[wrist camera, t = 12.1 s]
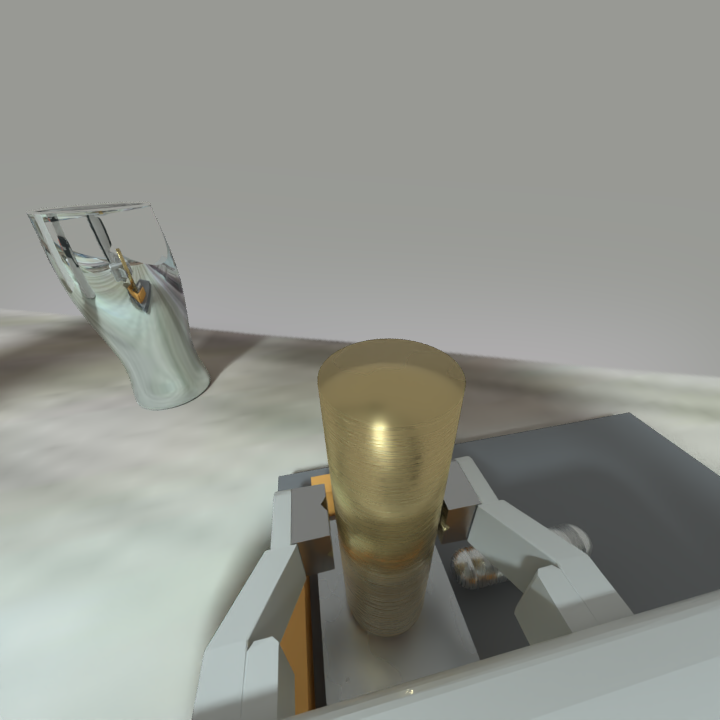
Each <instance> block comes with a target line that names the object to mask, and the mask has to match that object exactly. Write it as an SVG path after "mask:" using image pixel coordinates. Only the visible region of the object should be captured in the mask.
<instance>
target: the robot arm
mask: <svg viewBox="0 0 720 720" xmlns="http://www.w3.org/2000/svg"><path fill="white" fill-rule="evenodd" d="M330 531H331V528H330V519H329V511H328V503H327V498H326V489H325V484H318V485H313V486H307V487H301V488H295V489H288V490H283V491H278V492H275V494H274V498H273V515H272V532H271V549H270V550H266V551H265V552H264V553H263V555H262V557H261V558H260V560H259V562H258V563H257V565H256V567H255V568H254V570H253V572H252V573H251V575H250V577H249V578H248V580H247V582H246V583H245V585H244V587H243V588H242V590H241V592H240V593H239V595H238V596H237V598H236V600H235V601H234V603H233V605H232V606H231V608H230V610H229V611H228V613H227V615H226V616H225V618H224V620H223V621H222V623H221V625H220V626H219V628H218V630H217V631H216V633H215V635H214V636H213V638H212V640H211V641H210V643H209V645H208V646H207V648H206V649H205V651H204V656H203V661H202V667H201V672H200V677H199V683H198V688H197V693H196V699H195V704H194V709H193V715H192V720H720V589H719V590H716V591H712V592H709V593H705V594H702V595H699V596H695V597H692V598H689V599H685V600H682V601H678V602H675V603H672V604H668V605H665V606H662V607H658V608H655V609H651V610H648V611H645V612H641V613H638V614H635V615H634V614H633V612H632V611H631V610H630V608H629V607H628V606H627V605H626V603H625V602H624V601H623V599H622V598H621V597H620V596H619V594H618V593H617V592H616V590H615V589H614V588H613V587H612V585H611V584H610V583H609V581H608V580H607V579H606V578H605V576H604V575H603V574H602V572H601V571H600V570H599V569H598V567H597V566H596V565H595V564H594V562H593V561H592V560H591V558H590V557H589V556H588V555H587V554H586V553H584V552H583V551H581V550H580V549H578V548H577V547H575V546H574V545H572V544H570V543H569V542H567V541H566V540H564V539H563V538H561V537H560V536H558V535H557V534H555V533H554V532H552V531H551V530H549V529H548V528H546V527H544V526H543V525H541V524H540V523H538V522H537V521H535V520H534V519H532V518H531V517H529V516H528V515H526V514H525V513H523V512H522V511H520V510H518V509H517V508H515V507H514V506H512V505H511V504H509V503H508V502H506V501H505V500H498V498H497V497H496V495H495V494H494V492H493V490H492V489H491V487H490V486H489V484H488V483H487V481H486V480H485V478H484V477H483V475H482V473H481V472H480V470H479V469H478V467H477V466H476V464H475V463H474V461H473V459H472V458H470V457H469V456H465V457H460V458H455V459H451V464H450V469H449V474H448V479H447V484H446V489H445V494H444V500H443V505H442V510H441V515H440V520H439V525H438V531H437V535H438V538H439V540H440V543H441V544H446V543H451V542H456V541H462V540H467V539H468V540H467V541H468V542H469V543H470V544H471V545H472V546H473V547H474V548H475V549H476V550H477V551H479V552H480V553H481V554H482V555H483V556H484V557H485V558H486V559H487V560H488V561H489V562H490V563H491V564H493V565H494V566H495V567H496V568H497V569H498V570H499V571H500V572H501V573H502V574H503V575H504V576H505V577H506V578H508V579H509V580H510V581H511V582H512V583H513V584H514V585H515V586H516V587H517V588H518V589H519V590H520V591H522V592H523V593H524V594H523V596H522V597H521V599H520V601H519V602H518V604H517V606H516V608H515V612H514V614H515V616H516V618H517V620H518V622H519V624H520V626H521V628H522V630H523V632H524V634H525V636H526V638H527V640H528V642H529V644H530V646H527V647H523V648H520V649H516V650H513V651H510V652H506V653H503V654H499V655H496V656H493V657H489V658H486V659H483V660H479V661H476V662H472V663H469V664H466V665H462V666H459V667H456V668H452V669H449V670H445V671H442V672H439V673H435V674H432V675H429V676H425V677H422V678H418V679H415V680H412V681H408V682H405V683H402V684H398V685H395V686H391V687H388V688H385V689H381V690H378V691H375V692H371V693H368V694H364V695H361V696H358V697H354V698H351V699H348V700H344V701H341V702H337V703H334V704H331V705H327V706H324V707H321V708H317V709H314V710H310V711H307V712H304V713H300V714H297V715H295V675H294V672H293V670H292V668H291V666H290V664H289V662H288V660H287V658H286V656H285V654H284V652H283V650H282V648H281V646H280V642H281V640H282V637H283V635H284V633H285V630H286V628H287V625H288V623H289V620H290V618H291V615H292V613H293V610H294V608H295V606H296V603H297V601H298V598H299V596H300V593H301V591H302V588H303V586H304V583H305V581H306V576H310V575H314V574H318V573H322V572H325V571H329V570H333V569H335V564H334V555H333V545H332V538H331V533H330Z"/></svg>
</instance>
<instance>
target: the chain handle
mask: <svg viewBox="0 0 720 720" xmlns="http://www.w3.org/2000/svg"><path fill="white" fill-rule="evenodd" d="M465 386H466V381H465V376H464V373H463V371H462V369H461V367H460V366H459V365H458V363H457V362H456V361H455V360H454V359H452V358H451V357H450V356H449V355H447V354H446V353H444V352H442V351H440V350H438V349H436V348H434V347H431V346H429V345H426V344H423V343H419V342H415V341H410V340H403V339H374V340H367V341H362V342H358V343H355V344H352V345H349V346H346V347H344V348H342V349H340V350H338V351H337V352H335V353H334V354H332V355H331V356H330V357H329V358H328V359H327V360H326V361H325V362H324V363H323V365H322V366H321V368H320V370H319V373H318V390H319V397H320V405H321V412H322V420H323V427H324V434H325V442H326V449H327V457H328V464H329V472H330V479H331V487H332V494H333V502H334V509H335V516H336V520H332V521H330V528H331V531H330V533H331V538H332V545H333V555H334V564H335V569H333V570H329V571H325V572H322V573H318V585H319V600H320V615H321V629H322V644H323V659H324V674H325V689H326V704H327V705H331V704H334V703H337V702H341V701H344V700H348V699H351V698H354V697H358V696H361V695H364V694H368V693H371V692H375V691H378V690H381V689H385V688H388V687H391V686H395V685H398V684H402V683H405V682H408V681H412V680H415V679H418V678H422V677H425V676H429V675H432V674H435V673H439V672H442V671H445V670H449V669H452V668H456V667H459V666H462V665H466V664H469V663H472V662H476V661H479V660H480V659H479V656H478V653H477V651H476V648H475V646H474V643H473V641H472V638H471V635H470V633H469V630H468V628H467V625H466V623H465V620H464V617H463V615H462V612H461V610H460V607H459V605H458V602H457V600H456V597H455V594H454V592H453V589H452V587H451V584H450V582H449V579H448V576H447V574H446V571H445V569H444V566H443V564H442V561H441V558H440V556H439V553H438V551H437V548H436V546H435V541H436V536H437V531H438V525H439V520H440V515H441V510H442V505H443V500H444V494H445V489H446V484H447V479H448V474H449V469H450V464H451V458H452V453H453V448H454V443H455V438H456V433H457V427H458V422H459V417H460V412H461V407H462V402H463V396H464V391H465ZM548 529H549V530H551V531H552V532H554V533H555V534H557V535H558V536H560V537H561V538H563V539H564V540H566V541H567V542H569V543H570V544H572V545H574V546H575V547H577V548H578V549H580V550H581V551H583V552H584V553H586V554H587V555H588V556H589V557H590V555H591V553H592V543H591V540H590V538H589V536H588V535H587V534H586V533H585V532H584V531H583V530H582V529H581V528H579V527H578V526H576V525H573V524H560V525H556V526H552V527H548ZM450 569H451V573H452V575H453V577H454V579H455V580H456V582H457V583H458V584H460V585H461V586H462V587H464V588H467V589H471V590H472V589H478V588H482V587H486V586H490V585H493V584H497V583H501V582H505V581H509V579H508V578H506V577H505V576H504V575H503V574H502V573H501V572H500V571H499V570H498V569H497V568H496V567H495V566H494V565H493V564H491V563H490V562H489V561H488V560H487V559H486V558H485V557H484V556H483V555H482V554H481V553H480V552H479V551H477V550H476V549H475V548H474V547H473V546H467V547H463V548H460V549H458V550H456V551H455V552H454V553H453V555H452V557H451V560H450Z"/></svg>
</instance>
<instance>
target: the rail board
mask: <svg viewBox="0 0 720 720" xmlns="http://www.w3.org/2000/svg"><path fill="white" fill-rule="evenodd" d="M465 456H469V457H470V458H472V459H473V461H474V463H475V464H476V466H477V467H478V469H479V470H480V472H481V473H482V475H483V477H484V478H485V480H486V481H487V483H488V484H489V486H490V487H491V489H492V490H493V492H494V494H495V495H496V497H497V498H498V500H505V501H506V502H508V503H509V504H511V505H512V506H514V507H515V508H517V509H518V510H520V511H522V512H523V513H525V514H526V515H528V516H529V517H531V518H532V519H534V520H535V521H537V522H538V523H540V524H541V525H543V526H544V527H546V528H548V527H552V526H556V525H560V524H573V525H576V526H578V527H579V528H581V529H582V530H583V531H584V532H585V533H586V534H587V535H588V536H589V538H590V540H591V543H592V553H591V555H590V558H591V560H592V561H593V562H594V564H595V565H596V566H597V567H598V569H599V570H600V571H601V572H602V574H603V575H604V576H605V578H606V579H607V580H608V581H609V583H610V584H611V585H612V587H613V588H614V589H615V590H616V592H617V593H618V594H619V596H620V597H621V598H622V599H623V601H624V602H625V603H626V605H627V606H628V607H629V608H630V610H631V611H632V612H633V614H634V615H635V614H638V613H641V612H645V611H648V610H651V609H655V608H658V607H662V606H665V605H668V604H672V603H675V602H678V601H682V600H685V599H689V598H692V597H695V596H699V595H702V594H705V593H709V592H712V591H716V590H719V589H720V476H719V475H717V474H716V473H714V472H713V471H712V470H710V469H709V468H707V467H706V466H705V465H703V464H702V463H700V462H699V461H697V460H696V459H695V458H693V457H692V456H690V455H689V454H688V453H686V452H685V451H683V450H682V449H680V448H679V447H678V446H676V445H675V444H673V443H672V442H670V441H669V440H668V439H666V438H665V437H663V436H662V435H661V434H659V433H658V432H656V431H655V430H653V429H652V428H651V427H649V426H648V425H646V424H645V423H644V422H642V421H641V420H639V419H638V418H636V417H635V416H634V415H632V414H631V413H624V414H618V415H613V416H607V417H602V418H596V419H591V420H586V421H580V422H575V423H569V424H564V425H558V426H553V427H547V428H542V429H536V430H531V431H525V432H520V433H514V434H509V435H503V436H498V437H492V438H487V439H481V440H476V441H470V442H465V443H460V444H454V448H453V453H452V458H451V459H455V458H460V457H465ZM318 484H325V489H326V498H327V503H328V511H329V519H330V521H332V520H336V516H335V509H334V502H333V494H332V487H331V479H330V472H329V467H328V468H323V469H317V470H312V471H306V472H301V473H295V474H290V475H284V476H279V479H278V491H283V490H288V489H295V488H301V487H307V486H313V485H318ZM467 540H468V539H467ZM467 540H462V541H456V542H451V543H446V544H441V543H440V540H439V538H438V535H437V536H436V541H435V546H436V548H437V551H438V553H439V556H440V558H441V561H442V564H443V566H444V569H445V571H446V574H447V576H448V579H449V582H450V584H451V587H452V589H453V592H454V594H455V597H456V600H457V602H458V605H459V607H460V610H461V612H462V615H463V617H464V620H465V623H466V625H467V628H468V630H469V633H470V635H471V638H472V641H473V643H474V646H475V648H476V651H477V653H478V656H479V659H480V660H483V659H486V658H489V657H493V656H496V655H499V654H503V653H506V652H510V651H513V650H516V649H520V648H523V647H527V646H530V644H529V642H528V640H527V638H526V636H525V634H524V632H523V630H522V628H521V626H520V624H519V622H518V620H517V618H516V616H515V614H514V612H515V608H516V606H517V604H518V602H519V601H520V599H521V597H522V596H523V594H524V593H523V592H522V591H520V590H519V589H518V588H517V587H516V586H515V585H514V584H513V583H512V582H511V581H510V580H509V581H505V582H501V583H497V584H493V585H490V586H486V587H482V588H478V589H472V590H471V589H467V588H464V587H462V586H461V585H460V584H458V583H457V582H456V580H455V579H454V577H453V575H452V573H451V569H450V560H451V557H452V555H453V553H454V552H455V551H456V550H458V549H460V548H463V547H467V546H472V545H471V544H470V543H469V542H468V541H467ZM280 646H281V648H282V650H283V652H284V654H285V656H286V658H287V660H288V662H289V664H290V666H291V668H292V670H293V672H294V675H295V715H297V714H300V713H304V712H307V711H310V710H314V709H317V708H321V707H324V706H327V704H326V689H325V674H324V659H323V644H322V629H321V615H320V600H319V585H318V574H314V575H310V576H306V581H305V583H304V586H303V588H302V591H301V593H300V596H299V598H298V601H297V603H296V606H295V608H294V610H293V613H292V615H291V618H290V620H289V623H288V625H287V628H286V630H285V633H284V635H283V637H282V640H281V642H280Z"/></svg>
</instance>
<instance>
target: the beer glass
mask: <svg viewBox="0 0 720 720" xmlns="http://www.w3.org/2000/svg"><path fill="white" fill-rule="evenodd" d="M26 214H27V215H28V217H29V219H30V221H31V223H32V225H33V227H34V229H35V231H36V234H37V236H38V238H39V240H40V243H41V245H42V247H43V249H44V251H45V253H46V255H47V258H48V260H49V261H50V264H51V266H52V267H53V269H54V271H55V273H56V275H57V277H58V279H59V281H60V282H61V284H62V285H63V287H64V289H65V290H66V292H67V293H68V295H69V297H70V298H71V300H72V301H73V303H74V304H75V305H76V307H77V308H78V309H79V311H80V312H81V313H82V315H83V316H84V317H85V319H86V320H87V321H88V322H89V323H90V325H91V326H92V327H93V328H94V329H95V331H96V332H97V333H98V334H99V335H100V336H101V338H102V339H103V340H104V341H105V342H106V343H107V345H108V346H109V347H110V348H111V349H112V351H113V352H114V353H115V354H116V356H117V357H118V358H119V360H120V361H121V363H122V364H123V366H124V367H125V369H126V371H127V374H128V376H129V379H130V382H131V385H132V389H133V393H134V397H135V400H136V402H137V403H138V404H139V405H140V406H141V407H143V408H145V409H150V410H162V409H168V408H173V407H176V406H179V405H182V404H184V403H187V402H189V401H191V400H193V399H194V398H196V397H197V396H199V395H200V394H201V393H203V392H204V391H205V390H206V388H207V387H208V386H209V384H210V380H211V379H210V374H209V372H208V371H207V369H206V367H205V366H204V364H203V363H202V361H201V360H200V358H199V356H198V354H197V353H196V350H195V348H194V345H193V342H192V339H191V334H190V329H189V323H188V317H187V310H186V304H185V298H184V293H183V288H182V284H181V279H180V276H179V273H178V270H177V267H176V264H175V261H174V258H173V256H172V253H171V250H170V248H169V246H168V243H167V241H166V238H165V236H164V234H163V232H162V229H161V227H160V225H159V223H158V221H157V218H156V216H155V214H154V212H153V209H152V207H151V203H149V202H117V203H100V204H85V205H73V206H62V207H52V208H42V209H35V210H30V211H27V212H26Z"/></svg>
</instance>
